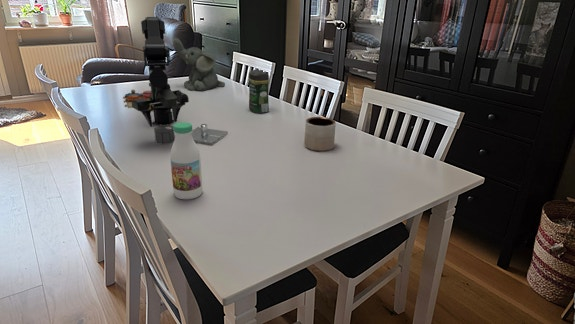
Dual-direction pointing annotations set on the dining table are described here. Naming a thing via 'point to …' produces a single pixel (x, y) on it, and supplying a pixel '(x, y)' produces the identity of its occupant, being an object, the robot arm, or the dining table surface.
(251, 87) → the coffee jar
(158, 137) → the knob
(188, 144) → the milk bottle
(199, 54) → the stuffed elephant
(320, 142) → the planter
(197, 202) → the dining table surface
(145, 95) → the gear puzzle
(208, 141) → the mounting plate
